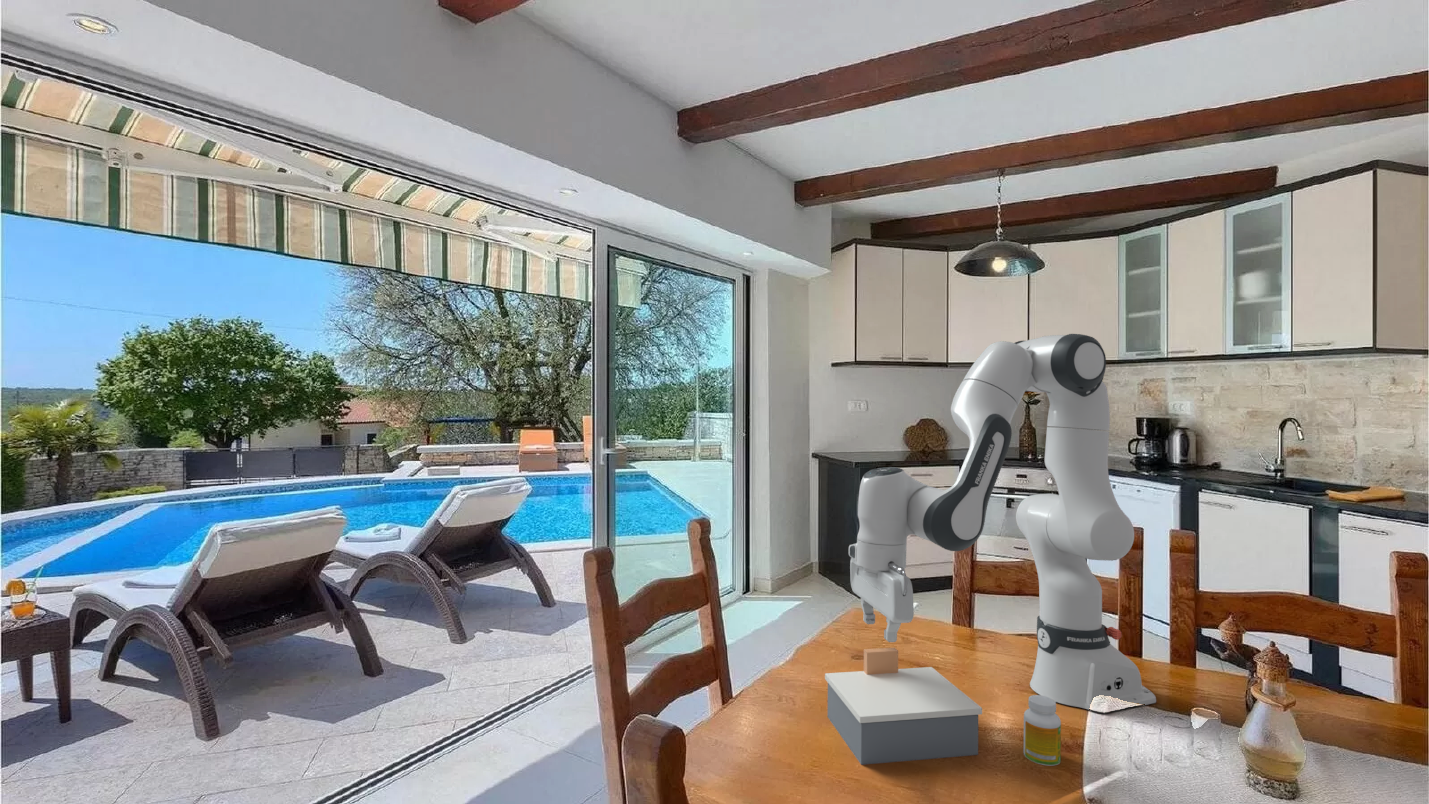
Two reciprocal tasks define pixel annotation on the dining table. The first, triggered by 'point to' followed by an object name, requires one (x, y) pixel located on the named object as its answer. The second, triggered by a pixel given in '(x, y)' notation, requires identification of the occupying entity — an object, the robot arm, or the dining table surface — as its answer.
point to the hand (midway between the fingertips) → (879, 631)
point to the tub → (903, 735)
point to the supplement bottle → (1042, 731)
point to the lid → (898, 691)
